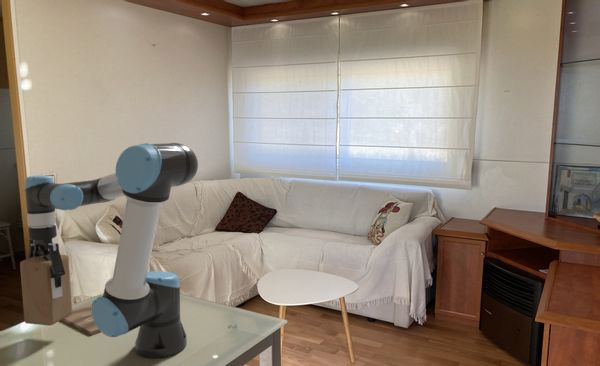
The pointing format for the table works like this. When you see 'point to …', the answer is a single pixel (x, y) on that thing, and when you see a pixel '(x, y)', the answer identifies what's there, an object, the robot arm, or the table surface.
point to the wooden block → (44, 292)
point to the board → (83, 320)
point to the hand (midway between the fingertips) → (47, 293)
